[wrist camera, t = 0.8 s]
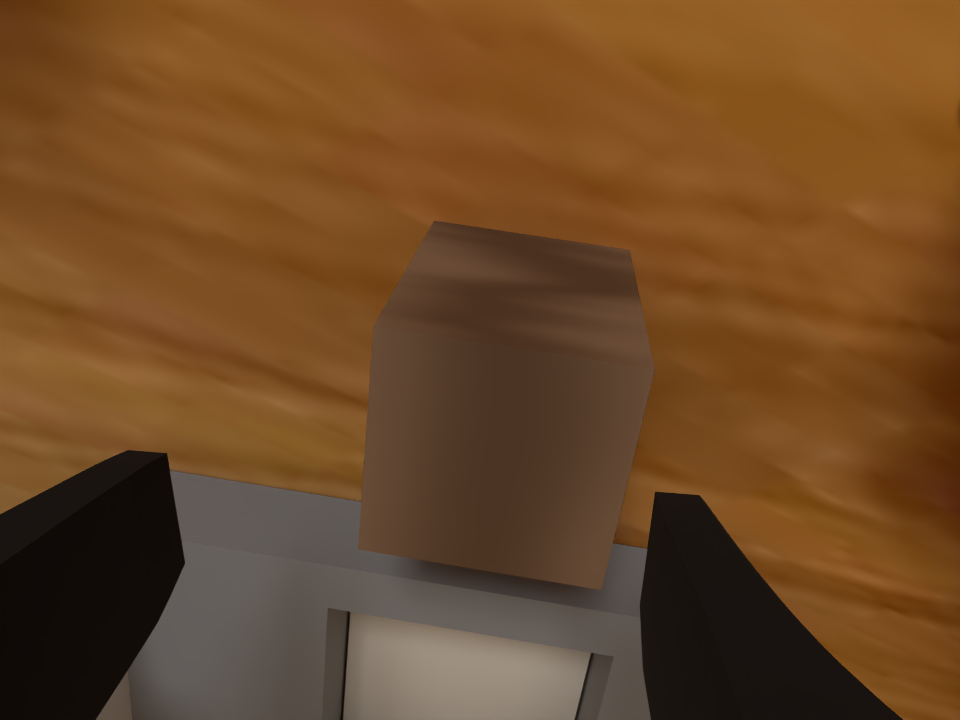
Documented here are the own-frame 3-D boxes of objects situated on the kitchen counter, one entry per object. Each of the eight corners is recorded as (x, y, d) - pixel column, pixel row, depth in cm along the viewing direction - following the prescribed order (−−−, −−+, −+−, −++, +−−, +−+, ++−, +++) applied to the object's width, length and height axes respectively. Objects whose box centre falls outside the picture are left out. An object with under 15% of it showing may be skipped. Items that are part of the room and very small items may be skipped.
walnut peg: (629, 249, 20) (655, 369, 14) (593, 420, 23) (601, 590, 16) (434, 220, 21) (373, 326, 14) (417, 392, 23) (357, 549, 16)
